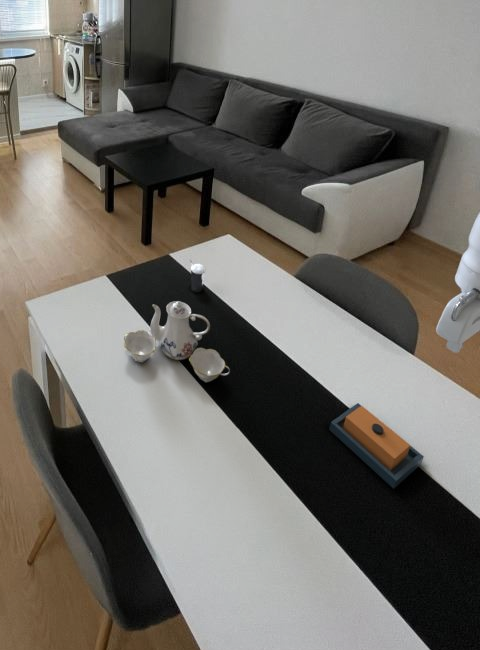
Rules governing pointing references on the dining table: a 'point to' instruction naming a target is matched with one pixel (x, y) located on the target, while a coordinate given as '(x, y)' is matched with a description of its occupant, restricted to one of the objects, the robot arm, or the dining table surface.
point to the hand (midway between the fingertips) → (466, 339)
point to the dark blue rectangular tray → (390, 477)
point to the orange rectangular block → (376, 438)
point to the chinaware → (176, 341)
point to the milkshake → (197, 276)
